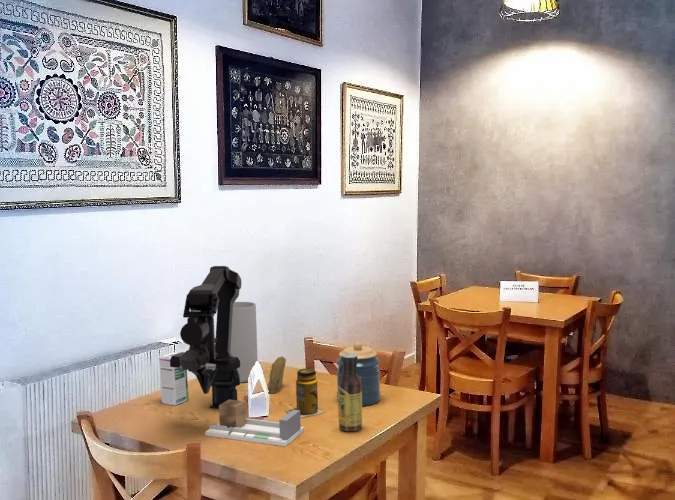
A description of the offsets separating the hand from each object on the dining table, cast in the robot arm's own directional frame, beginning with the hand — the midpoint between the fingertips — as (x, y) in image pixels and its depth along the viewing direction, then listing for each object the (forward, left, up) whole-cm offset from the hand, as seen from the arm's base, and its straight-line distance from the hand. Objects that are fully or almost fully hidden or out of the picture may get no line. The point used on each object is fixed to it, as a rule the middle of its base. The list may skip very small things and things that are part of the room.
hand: (206, 393), depth 177 cm
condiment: (+20, +19, -9) cm, 29 cm away
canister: (+31, +34, -9) cm, 47 cm away
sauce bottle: (+37, +11, -9) cm, 40 cm away
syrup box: (-21, +15, -9) cm, 27 cm away
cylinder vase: (-15, +43, -9) cm, 46 cm away
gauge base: (+15, 0, -9) cm, 17 cm away
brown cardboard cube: (+8, -2, -8) cm, 11 cm away
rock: (+1, +36, -10) cm, 37 cm away
